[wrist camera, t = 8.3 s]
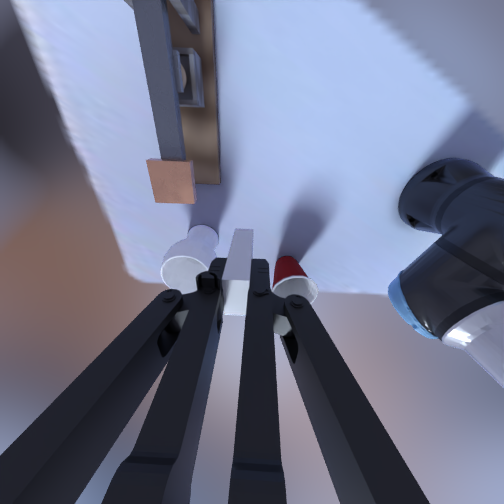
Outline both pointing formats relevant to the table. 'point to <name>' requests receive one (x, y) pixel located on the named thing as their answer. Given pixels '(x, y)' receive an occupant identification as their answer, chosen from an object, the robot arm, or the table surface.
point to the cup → (189, 259)
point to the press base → (197, 84)
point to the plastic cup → (292, 280)
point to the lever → (164, 104)
